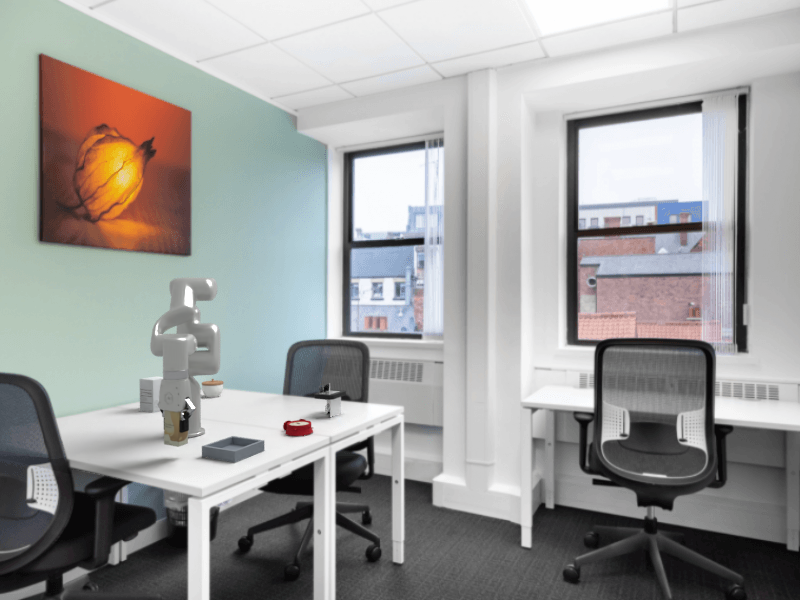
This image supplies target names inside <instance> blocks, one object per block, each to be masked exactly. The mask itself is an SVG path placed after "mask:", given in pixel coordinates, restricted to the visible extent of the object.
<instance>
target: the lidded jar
mask: <svg viewBox="0 0 800 600" xmlns="http://www.w3.org/2000/svg"><path fill="white" fill-rule="evenodd" d="M201 389H202V391H201V392H202V393H203V395H204V396H205V397H206V398H207V399H213V398H214V399H215V397H216V398H219V397H220V395H221V394H222V393H223V389H224V380H215V379H214V378H211V380H206V381H205V380H204V381H202V382H201Z"/></svg>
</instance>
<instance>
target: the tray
mask: <svg viewBox="0 0 800 600" xmlns="http://www.w3.org/2000/svg"><path fill="white" fill-rule="evenodd" d="M264 451H265V439H262V440H261V439H257V438H249V437H242V436H236V435H235V436H234V435H231V436H228V437H225V438H222V439H219V440H217V441H214V442H211V443H207V444H205V445H202V446H201V458H205V457H207V458H206V459H211V458H213V459H212V460H217V459H218V460H217V461H223V462H224V461H225V462H229V463H238V462H240V461H242V460H245V459H248V458H251V457H252V456H255V455H258V454H260V453H262V452H264Z"/></svg>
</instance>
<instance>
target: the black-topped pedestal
mask: <svg viewBox="0 0 800 600" xmlns="http://www.w3.org/2000/svg"><path fill="white" fill-rule="evenodd" d="M318 388H319V390H318V392H316V393H314V399H318V400H325V401H326V405H325V406H324V407H325V410H324V414H325V415H327V414H328V412H330V413H329V416H330V417H331V418H333V417H332V416H334V417H336V416H338V414H339V415H341V414H342V397H344V396H347V391H346V390H342V389H340V390H339V389H331V383H330V382H329V383H327V384H323V385H322V386H320V385H319V387H318ZM340 413H341V414H340ZM335 415H336V416H335ZM330 417H329V418H330Z"/></svg>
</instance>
